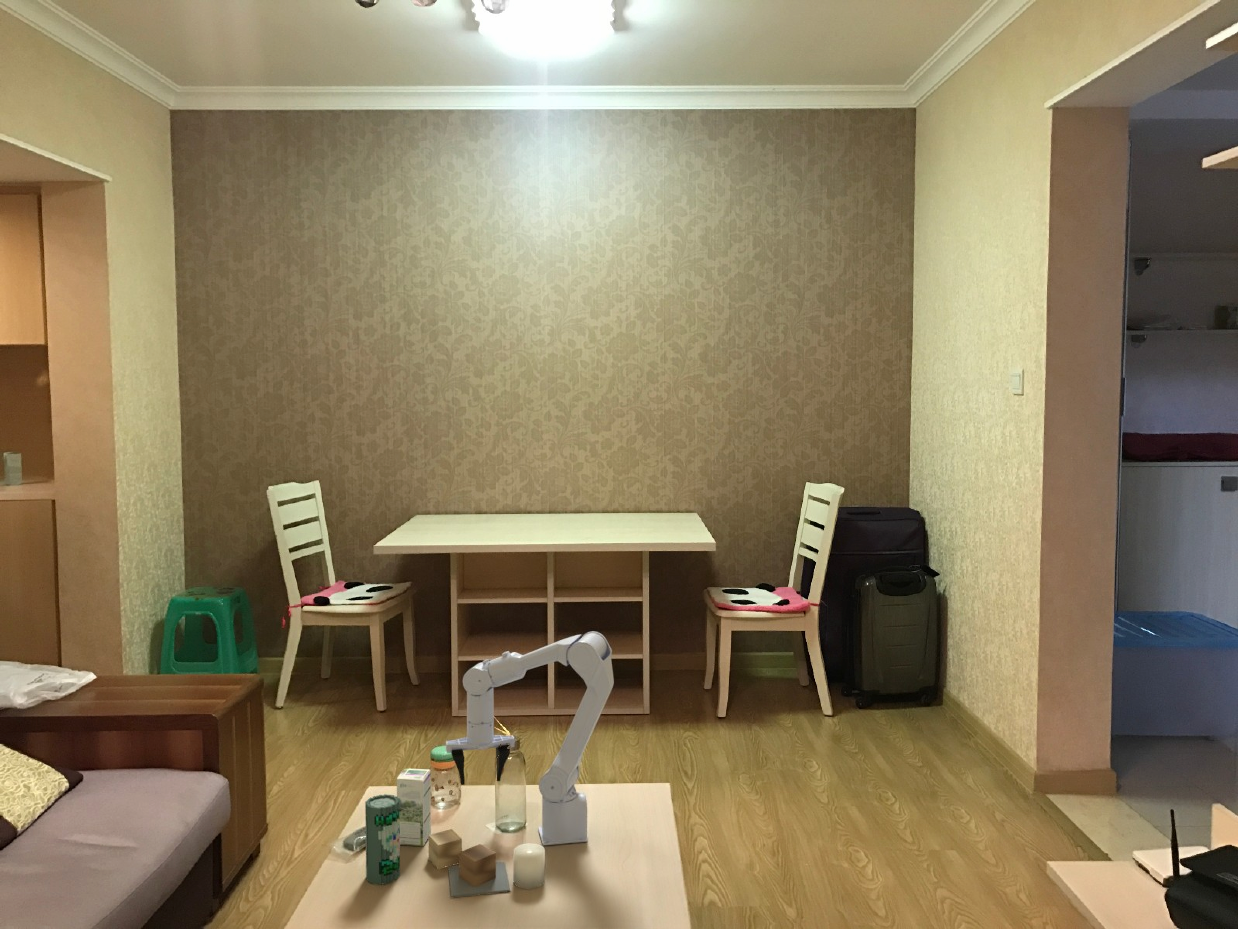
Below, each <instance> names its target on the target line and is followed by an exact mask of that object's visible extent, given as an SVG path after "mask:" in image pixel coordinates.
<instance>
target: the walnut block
mask: <svg viewBox="0 0 1238 929" xmlns="http://www.w3.org/2000/svg"><path fill="white" fill-rule="evenodd" d="M496 853H497V852H496V851H493V850H491V849H490V848H488V847H486V846H485V845H483V844H481V843H479V844H476V845H473V846H472V847H469V848H467V849H464V850H462V852H459V864H458V866H459V878H461V879H462V880H464V881H466V882H467V883H469V884H470V885H472V886H474V887H476V886H479V885H481V884H483V883H485V882H488V881H490V880H492V879H494V878H496V862H497V854H496Z"/></svg>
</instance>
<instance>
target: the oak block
mask: <svg viewBox="0 0 1238 929" xmlns="http://www.w3.org/2000/svg"><path fill="white" fill-rule="evenodd" d="M462 851H463V839H462V837H461V836H460V835H458V833H456V831H454V829H453V828H451V829H448V830H443V831H440V832H435V833H431V835H429V838H428V860H429V859H430V860H431V861H432V862H433V863H434V864H433V863H432V862H431V861H430V860H429V861H430V862H431V863H432V864H433V865H434V866H435V867H436V869H437V870H441V869H444V868H443V867H445V866H448V867H451V866H450V865H452V866H454V865H453V864H455V865H458V864H457V863H459V852H462ZM440 868H441V869H440ZM445 868H446V867H445Z"/></svg>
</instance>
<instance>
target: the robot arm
mask: <svg viewBox="0 0 1238 929" xmlns="http://www.w3.org/2000/svg"><path fill="white" fill-rule="evenodd" d="M580 637H581V638H580ZM579 638H580V639H579ZM612 652H613V649H612V648H611V646H610V644H609V642H608V640H607V638H606V637H605V636H604V634H602V633H600V632H599V631H588V632H586V633H584V634H576V635H572V636H569V637H566V638H563V639H561V640H558V641H555V642H553V643H550V644H548V645H545V646H543V647H540V648H538V649H535V650H533V651H530V652H527V653H525V654H521V653H518V652H515V651H514V652H513V651H512V652H510V651H509V650H508V651H504V652H503V653H501V656H499V657H497V658H493V659H489V658H487V659H483V661H482V662H478V663H477V664H475V665H474V666H472V667H471V668H469V669H468V670H467V671H466V672H465V673H464V674H463V677H462V686H463V688H464V690H465V691H466V737H465V736H464V737H461V738H457V739H453V740H446V741H445V752H446V754H451V756H452V759H453V761H454V764H455V765H456V768H457V771H458V773H459V774H458V775H459V783H460V786H465V782H466V781H465V755H464V754H465V753H464V751H470V750H471V751H472V750H480V751H481V750H487V749H493V748H495V759H496V758H497V757H498V758H497V780H496V781H497V782H501V778H502V773H503V770H504V767H505V765H506V762H507V760H508V758H509V757H510V754H511V749H510V748H515V737H514V735H511V734H510V735H501V734H498V735H497V734H494V732H495V730H494V729H495V728H494V724H495V723H494V722H495V720H494V719H495V717H494V714H495V713H494V712H495V711H494V710H495V708H494V707H495V704H494V703H495V701H494V699H495V698H494V697H495V696H494V691H495V690H494V688H497V687H501V686H503V685H506V684H508V683H509V684H510V683H512V682H514V681H518V680H521V679H523V678H524V677H525V675H526V672H527V671H528V670H531V669H534V668H538V667H540V666H544V665H548V664H552V663H554V662H559V663H560V664H561V665H563V666H565V667H568V666H569V665H570V666H571V668H572V669H573V670H574V671H575V672H576V674H578V676H579V677H581V679H582V680H583V681H584V683H585V686H586V691H585V693H584V695H583V696H582V698H581V701H580V703H579V706H578V708H577V710H576V713H575V715H574V717H573V718H572V719H573V720H572V721H571V724H570V726H569V728H568V730H567V733H566V736H565V738H564V739H563V742H562V744H561V747H560V749H559V751H558V753H557V754H556V756H555V758H554V759H553V762H552V763H551V765H550V767H549V768H548V770H546V772H545V773H544V774H543V775H541V777H540V779H539V781H538V789H539V790H538V791H539V793H540V794H541V795H542V798H541V799H542V800H541V803H542V804H541V806H542V807H541V812H542V813H541V816H542V817H541V819H542V820H541V824H542V825H540V826H538V828H537V829H538V832H539V833H538V834H539V837H540V840H541V844H542V846H553V845H562V844H563V845H564V844H575V843H586V842H588V801H587V795H586V794H585V792H577V789H576V787H575V783H576V782H577V781H578V780H579V778H580V765H581V762H582V759H583V758H582V756H583V754H584V751H585V750H586V748H587V745H588V743H589V741H590V738H591V735H593V733H594V730H595V727H596V725H597V723H598V721H599V718H600V717H601V714H602V712H603V709H604V707H605V706H606V703H607V700H608V699H609V697H610V694H611V693H612V689H613V687H614V684H615V683H614V682H615V681H614V680H615V679H614V670H613V664H612ZM510 736H511V737H510ZM506 743H508V744H509V745H508V744H507V745H506ZM500 744H501V747H500ZM508 746H511V747H510V748H509V749H507V747H508ZM498 755H499V756H498Z"/></svg>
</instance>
